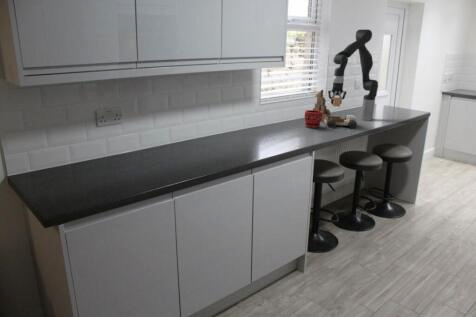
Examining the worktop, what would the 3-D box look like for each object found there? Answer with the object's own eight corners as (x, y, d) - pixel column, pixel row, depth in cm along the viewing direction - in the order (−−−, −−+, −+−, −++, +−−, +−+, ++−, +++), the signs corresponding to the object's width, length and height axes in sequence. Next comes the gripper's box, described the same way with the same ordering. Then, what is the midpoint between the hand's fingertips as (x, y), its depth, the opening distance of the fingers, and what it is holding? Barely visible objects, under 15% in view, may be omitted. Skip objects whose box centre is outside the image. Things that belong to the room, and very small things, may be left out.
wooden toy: (330, 121, 319) (333, 90, 311) (325, 122, 314) (328, 91, 307) (315, 118, 330) (317, 88, 322) (310, 119, 325) (312, 88, 318)
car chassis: (323, 122, 313) (324, 113, 311) (351, 123, 312) (352, 114, 310) (327, 127, 297) (328, 117, 295) (356, 128, 296) (357, 118, 294)
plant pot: (322, 128, 292) (324, 113, 288) (305, 128, 292) (306, 112, 288) (319, 125, 304) (320, 109, 301) (302, 124, 304) (303, 109, 300)
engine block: (331, 104, 304) (332, 97, 302) (338, 105, 303) (339, 97, 302) (333, 106, 297) (334, 98, 295) (340, 106, 297) (340, 98, 295)
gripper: (346, 81, 298) (344, 104, 303) (327, 81, 299) (325, 103, 304) (348, 82, 291) (346, 105, 296) (329, 82, 292) (327, 104, 297)
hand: (335, 104), depth 300 cm, fingers closed on engine block, 5 cm apart
